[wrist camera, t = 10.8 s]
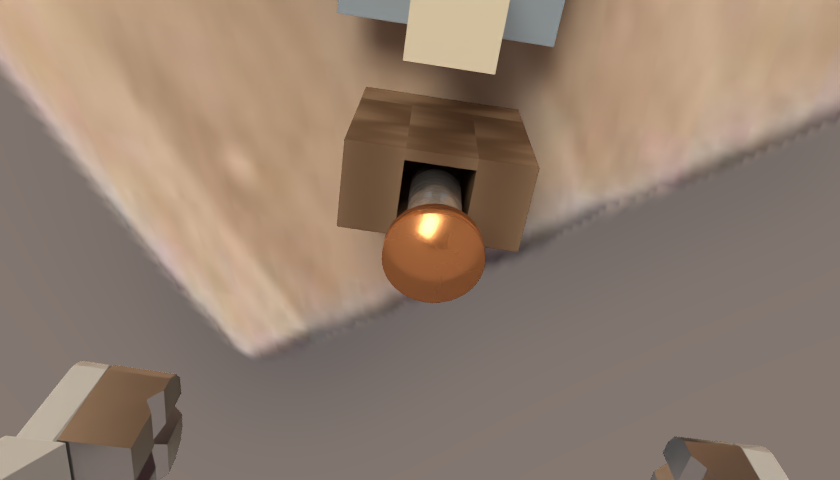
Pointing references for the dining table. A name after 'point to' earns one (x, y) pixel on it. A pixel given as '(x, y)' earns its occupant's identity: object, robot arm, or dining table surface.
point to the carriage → (463, 27)
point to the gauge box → (437, 162)
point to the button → (433, 240)
